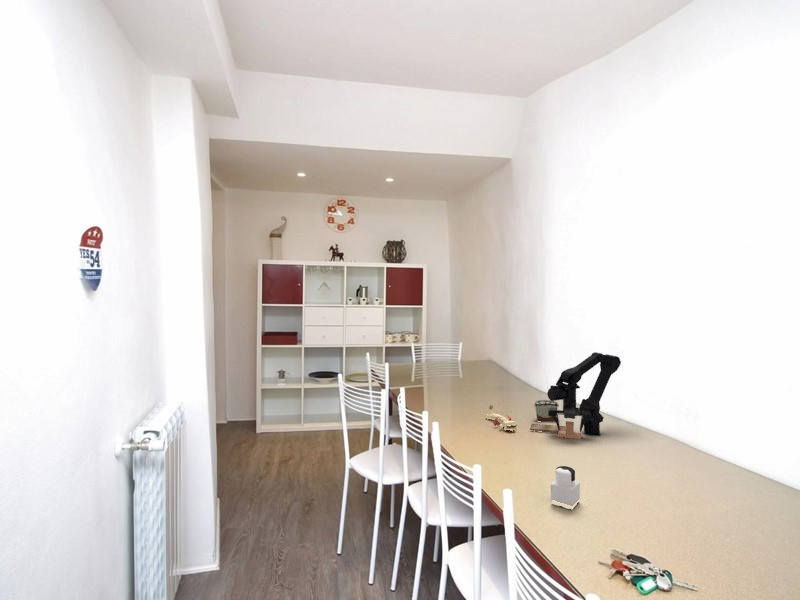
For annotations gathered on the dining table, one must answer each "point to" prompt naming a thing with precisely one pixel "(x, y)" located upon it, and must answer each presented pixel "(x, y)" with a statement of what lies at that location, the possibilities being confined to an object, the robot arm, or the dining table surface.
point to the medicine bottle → (565, 486)
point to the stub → (569, 431)
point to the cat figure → (502, 420)
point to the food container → (544, 410)
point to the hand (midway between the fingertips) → (569, 431)
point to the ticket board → (547, 428)
